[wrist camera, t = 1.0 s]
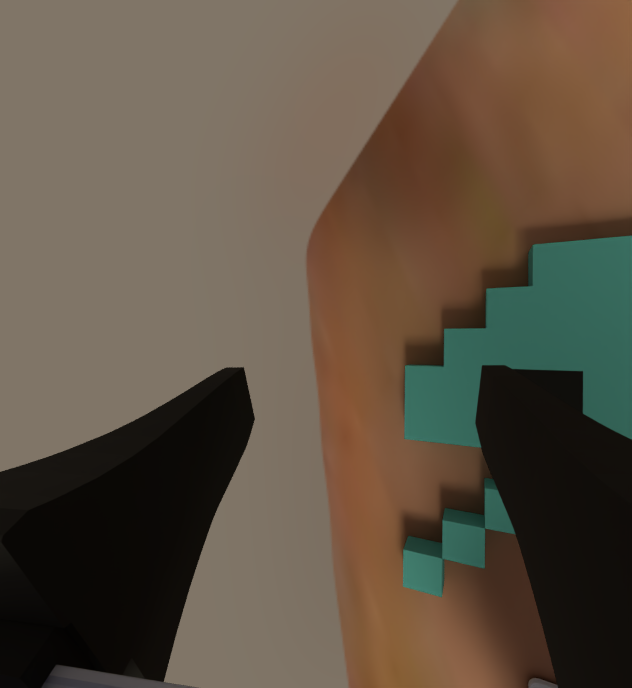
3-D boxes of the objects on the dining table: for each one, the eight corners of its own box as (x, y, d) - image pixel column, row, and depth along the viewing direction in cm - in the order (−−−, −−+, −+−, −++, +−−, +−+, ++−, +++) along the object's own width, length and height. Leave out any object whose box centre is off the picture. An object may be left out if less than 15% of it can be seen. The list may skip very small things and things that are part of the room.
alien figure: (879, 685, 15) (877, 226, 16) (940, 736, 13) (937, 207, 14) (409, 566, 24) (411, 264, 24) (403, 586, 22) (406, 256, 22)
